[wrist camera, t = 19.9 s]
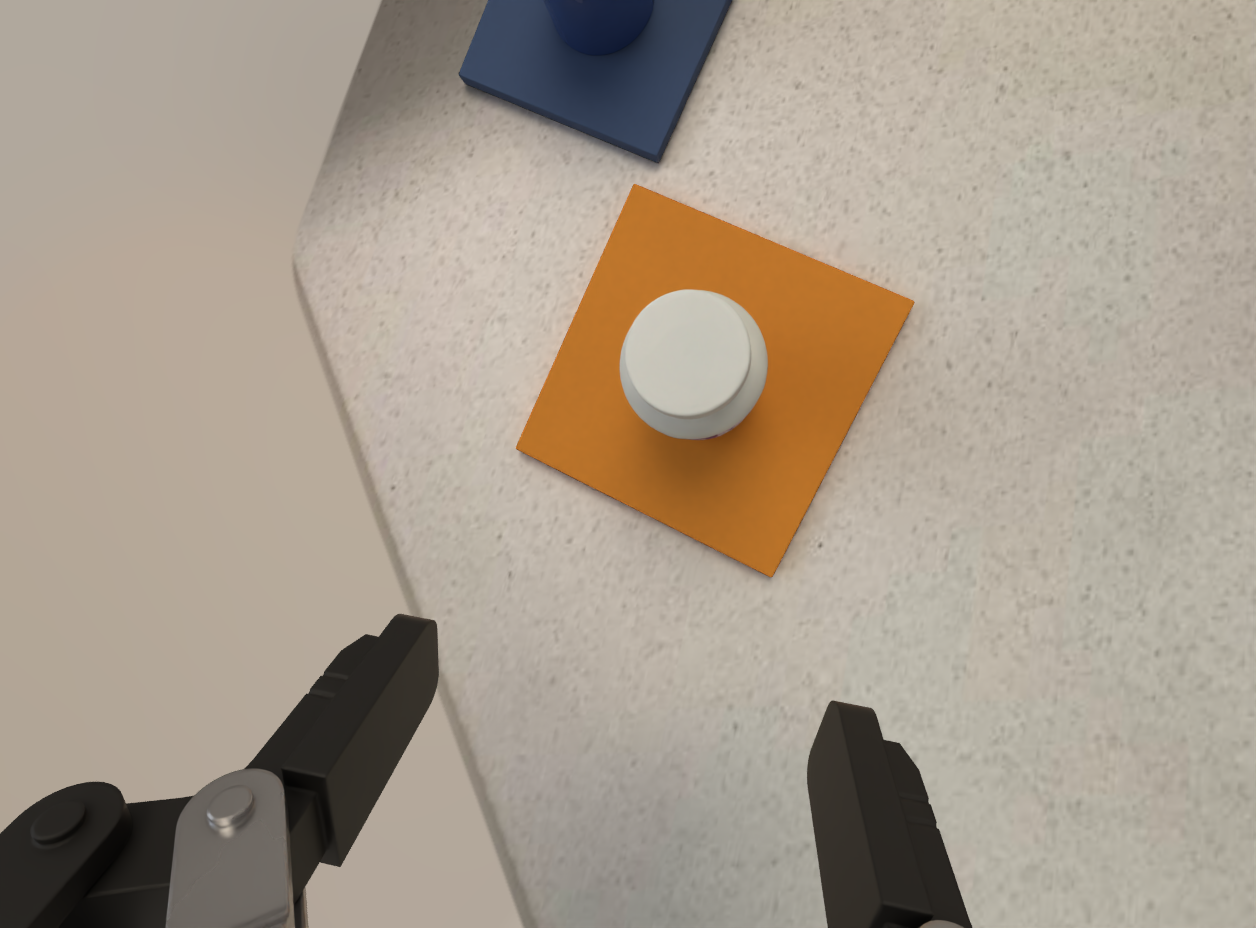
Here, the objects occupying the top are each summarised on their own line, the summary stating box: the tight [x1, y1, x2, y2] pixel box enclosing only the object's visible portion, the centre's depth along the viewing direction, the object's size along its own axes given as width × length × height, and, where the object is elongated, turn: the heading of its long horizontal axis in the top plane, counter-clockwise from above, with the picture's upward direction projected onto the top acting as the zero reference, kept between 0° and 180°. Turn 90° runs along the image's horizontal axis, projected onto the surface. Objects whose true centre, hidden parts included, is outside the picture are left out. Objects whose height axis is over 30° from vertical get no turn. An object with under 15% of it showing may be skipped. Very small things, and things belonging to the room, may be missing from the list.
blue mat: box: [459, 0, 732, 163], centre depth 28 cm, size 11×11×1 cm
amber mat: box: [516, 184, 914, 577], centre depth 28 cm, size 14×14×1 cm
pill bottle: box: [620, 289, 768, 440], centre depth 23 cm, size 5×5×10 cm
